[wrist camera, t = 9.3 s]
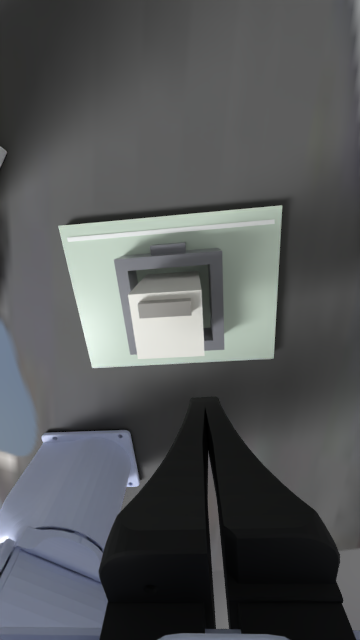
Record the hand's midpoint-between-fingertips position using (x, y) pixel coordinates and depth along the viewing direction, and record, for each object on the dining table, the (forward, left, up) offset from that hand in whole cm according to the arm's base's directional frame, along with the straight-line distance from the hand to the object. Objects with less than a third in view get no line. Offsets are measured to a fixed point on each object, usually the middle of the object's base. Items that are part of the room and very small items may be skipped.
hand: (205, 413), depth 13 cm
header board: (-2, +4, -10) cm, 11 cm away
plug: (-2, +4, -9) cm, 10 cm away
